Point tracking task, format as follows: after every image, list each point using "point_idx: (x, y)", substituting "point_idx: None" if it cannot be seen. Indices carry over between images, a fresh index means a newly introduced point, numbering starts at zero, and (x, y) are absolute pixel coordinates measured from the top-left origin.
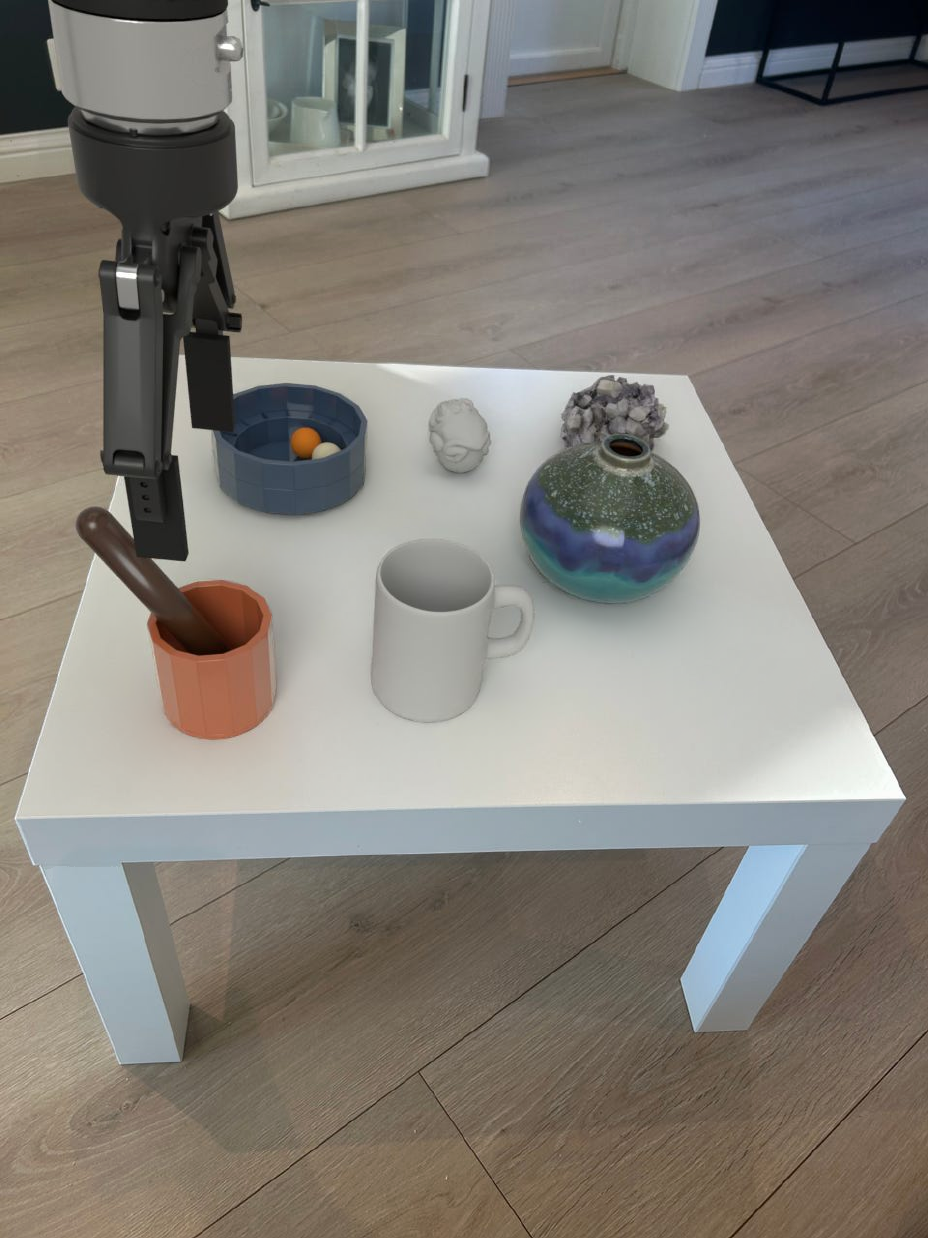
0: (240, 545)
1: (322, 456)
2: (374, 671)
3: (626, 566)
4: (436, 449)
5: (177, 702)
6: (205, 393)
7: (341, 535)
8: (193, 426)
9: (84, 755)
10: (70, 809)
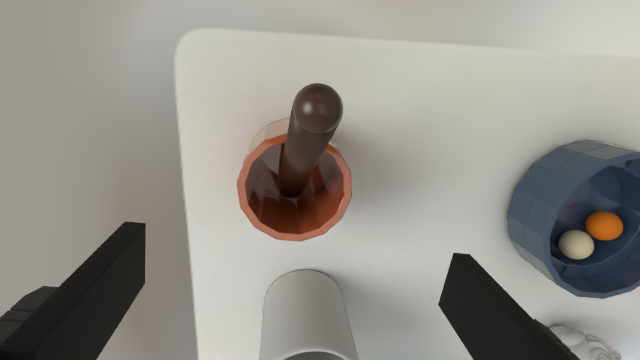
0: (476, 167)
1: (573, 244)
2: (294, 283)
3: None
4: (562, 335)
5: (251, 144)
6: (477, 314)
7: (477, 247)
8: (454, 256)
9: (231, 62)
10: (176, 59)
